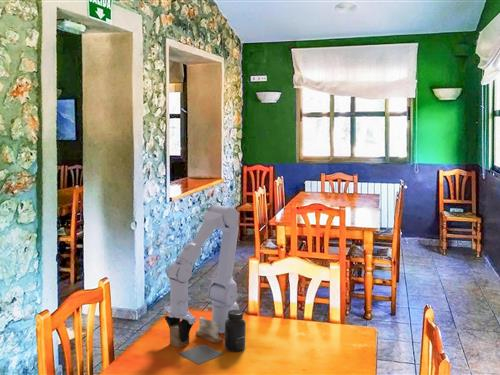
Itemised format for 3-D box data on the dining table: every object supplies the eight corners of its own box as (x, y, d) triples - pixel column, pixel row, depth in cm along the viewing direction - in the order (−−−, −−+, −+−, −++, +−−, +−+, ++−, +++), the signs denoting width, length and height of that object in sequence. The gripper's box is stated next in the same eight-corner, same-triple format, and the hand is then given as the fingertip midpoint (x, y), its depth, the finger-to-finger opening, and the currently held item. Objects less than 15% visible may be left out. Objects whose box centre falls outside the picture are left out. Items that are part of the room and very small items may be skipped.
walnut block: (180, 339, 172) (180, 322, 171) (189, 343, 169) (189, 326, 168) (169, 343, 169) (169, 326, 168) (178, 347, 166) (178, 329, 165)
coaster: (202, 344, 168) (202, 344, 168) (223, 354, 161) (223, 353, 161) (178, 353, 161) (178, 353, 161) (198, 364, 154) (198, 363, 154)
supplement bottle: (243, 353, 162) (243, 316, 161) (222, 351, 163) (222, 315, 162) (247, 344, 169) (247, 309, 167) (227, 342, 170) (227, 307, 169)
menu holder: (195, 334, 176) (195, 317, 176) (202, 332, 178) (202, 315, 178) (215, 343, 169) (215, 325, 169) (221, 340, 171) (221, 323, 171)
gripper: (156, 296, 169) (156, 335, 171) (183, 307, 159) (183, 349, 161) (173, 291, 174) (173, 330, 176) (200, 302, 164) (200, 342, 166)
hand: (179, 338), depth 169 cm, fingers closed on walnut block, 4 cm apart
